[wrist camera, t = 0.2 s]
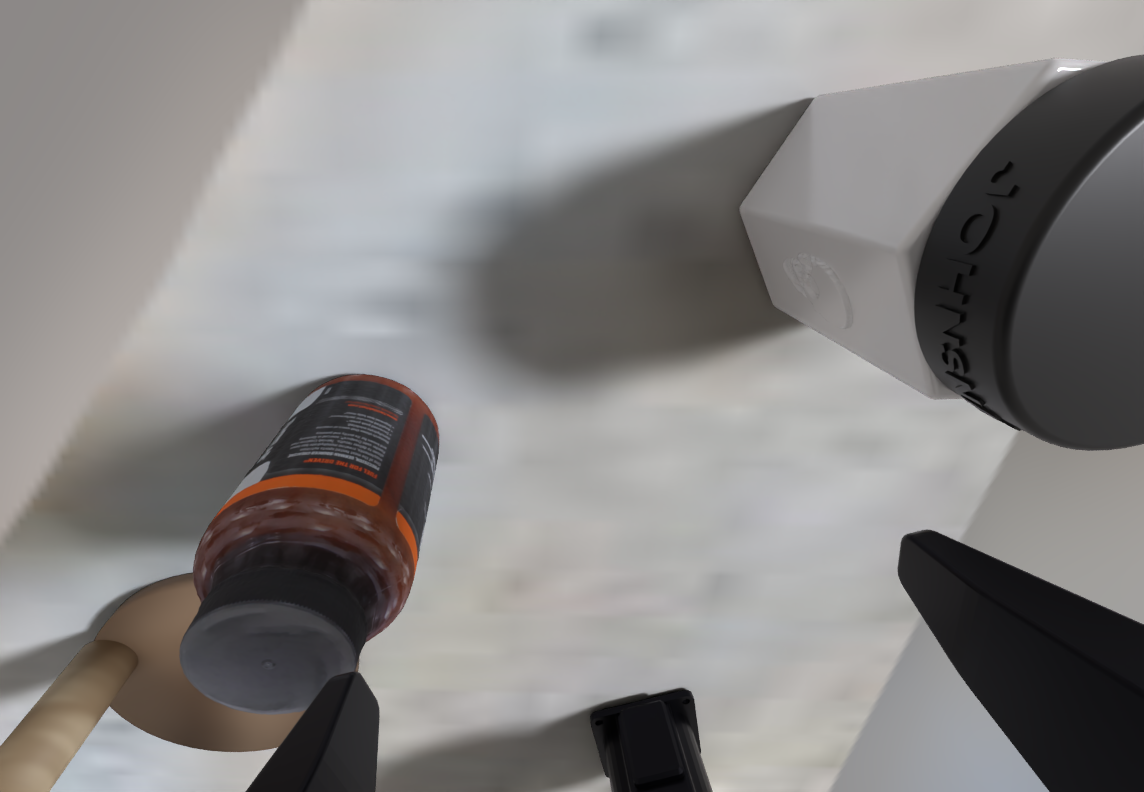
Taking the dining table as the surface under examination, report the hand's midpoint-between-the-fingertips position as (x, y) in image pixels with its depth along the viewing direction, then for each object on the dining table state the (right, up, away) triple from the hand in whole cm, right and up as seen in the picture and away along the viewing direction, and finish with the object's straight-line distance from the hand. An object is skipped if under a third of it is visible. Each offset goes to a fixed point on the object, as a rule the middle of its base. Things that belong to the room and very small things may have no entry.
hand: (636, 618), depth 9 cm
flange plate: (-18, -10, +19) cm, 28 cm away
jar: (+10, +11, +13) cm, 20 cm away
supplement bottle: (-10, +2, +14) cm, 18 cm away
